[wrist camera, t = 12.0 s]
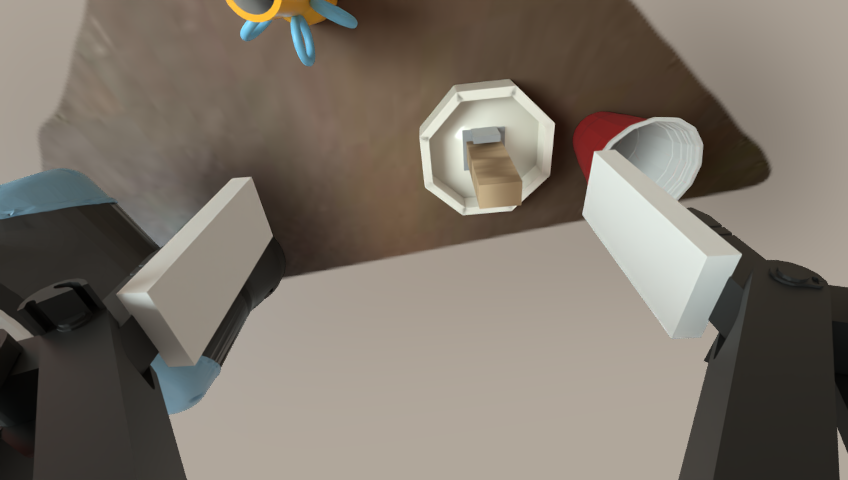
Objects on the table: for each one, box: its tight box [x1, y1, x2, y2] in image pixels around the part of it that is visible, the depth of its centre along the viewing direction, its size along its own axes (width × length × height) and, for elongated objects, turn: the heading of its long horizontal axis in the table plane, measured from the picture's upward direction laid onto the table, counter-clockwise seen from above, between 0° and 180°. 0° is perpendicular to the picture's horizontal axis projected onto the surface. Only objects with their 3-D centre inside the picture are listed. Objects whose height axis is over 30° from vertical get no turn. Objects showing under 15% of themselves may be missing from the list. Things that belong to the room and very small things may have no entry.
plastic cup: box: [573, 112, 703, 201], centre depth 40 cm, size 11×11×12 cm
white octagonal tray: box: [420, 79, 555, 215], centre depth 44 cm, size 15×15×4 cm
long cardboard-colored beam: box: [466, 140, 523, 209], centre depth 40 cm, size 4×2×12 cm, turn 96°
